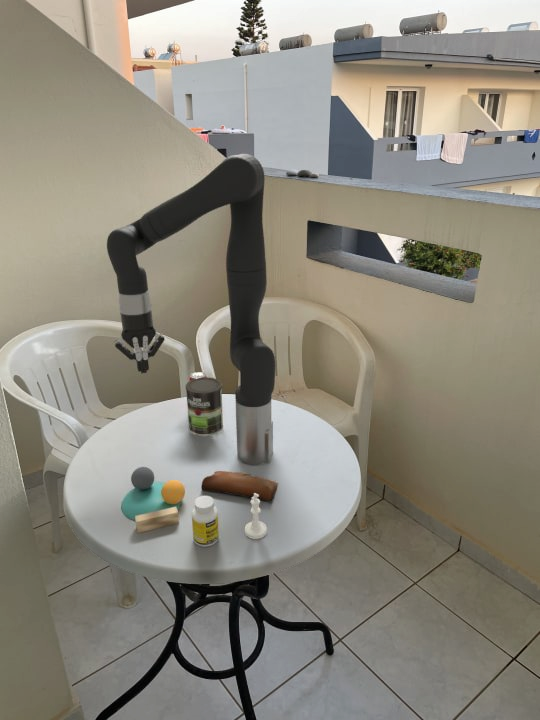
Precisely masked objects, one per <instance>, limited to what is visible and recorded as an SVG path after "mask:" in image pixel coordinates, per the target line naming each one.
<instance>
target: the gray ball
mask: <svg viewBox="0 0 540 720" xmlns="http://www.w3.org/2000/svg"><path fill="white" fill-rule="evenodd" d="M130 480H131V481H130V482H131V484H132V486H133V488H136V489H139V490H145V489H148V488H149V487H151V486H152V484H153V482H155V474H154V472H153V470H152V469H151V468H149V467H147V466H140V467H137V468H136V469H134V471H133V472H132V473H131V477H130Z"/></svg>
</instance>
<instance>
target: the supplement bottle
mask: <svg viewBox="0 0 540 720" xmlns="http://www.w3.org/2000/svg"><path fill="white" fill-rule="evenodd" d="M191 521H192V526H191V527H192V536H193V542H194V544H196V545H197V546H199V547H203V548H204V547H205V548H206V547H211V546H213V545H215V544H216V543H217V542H218V540H219V538H220V537H219V512H218V508H217V507H216V506H215V500H214V498H213V497H212V496H210V495H201V496H199V497H197V498H196V499H195V500H194V508H193V509H192V511H191Z"/></svg>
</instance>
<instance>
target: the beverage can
mask: <svg viewBox="0 0 540 720" xmlns="http://www.w3.org/2000/svg"><path fill="white" fill-rule="evenodd" d="M203 377H207V375H206V373H204V372H201V371H200V372H199V371H198V372H197V371H195V372H193V373H190V376H189V381H191V380H193V379H196V378H203Z"/></svg>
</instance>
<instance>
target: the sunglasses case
mask: <svg viewBox="0 0 540 720" xmlns="http://www.w3.org/2000/svg"><path fill="white" fill-rule="evenodd" d="M278 485H279V483H278V482H276V481H275V480H274V481H273V480H271V479H268V478H263V477H260V476H255V475H252V474H250V473H248V472H247V473H246V472H241V471H235V472H233V471H225V470H216V471H214V473H213V474H211V475H207V476H206V477H204V478H203V479H202V481H201V486H200V488H201V490H203V491H209V492H215V493H221V494H223V493H224V494H229V495H233V496H234V495H235V496H241V497H246V498H251V499H252V497H253V496H254V493H256V494H258V495H259V497H257V499H259V500H260V501H266V502H271V503H273V501H274V500H275V499H274V498H275V495H276V493H277V489H278Z"/></svg>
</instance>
